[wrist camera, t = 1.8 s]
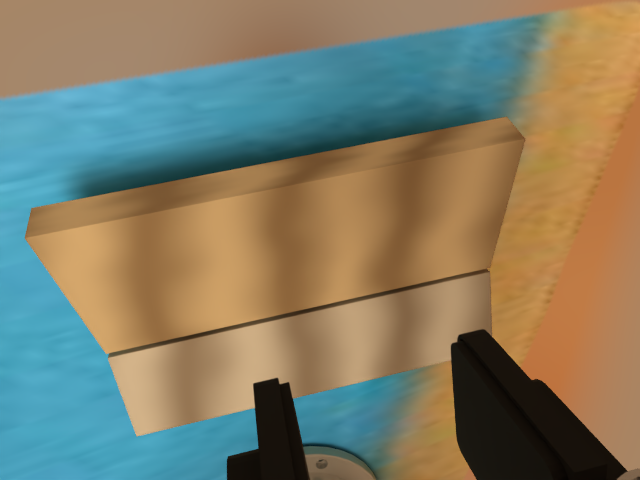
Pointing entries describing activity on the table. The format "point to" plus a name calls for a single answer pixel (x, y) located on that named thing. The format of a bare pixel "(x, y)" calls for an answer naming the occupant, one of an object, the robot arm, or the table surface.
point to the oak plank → (279, 234)
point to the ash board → (299, 351)
